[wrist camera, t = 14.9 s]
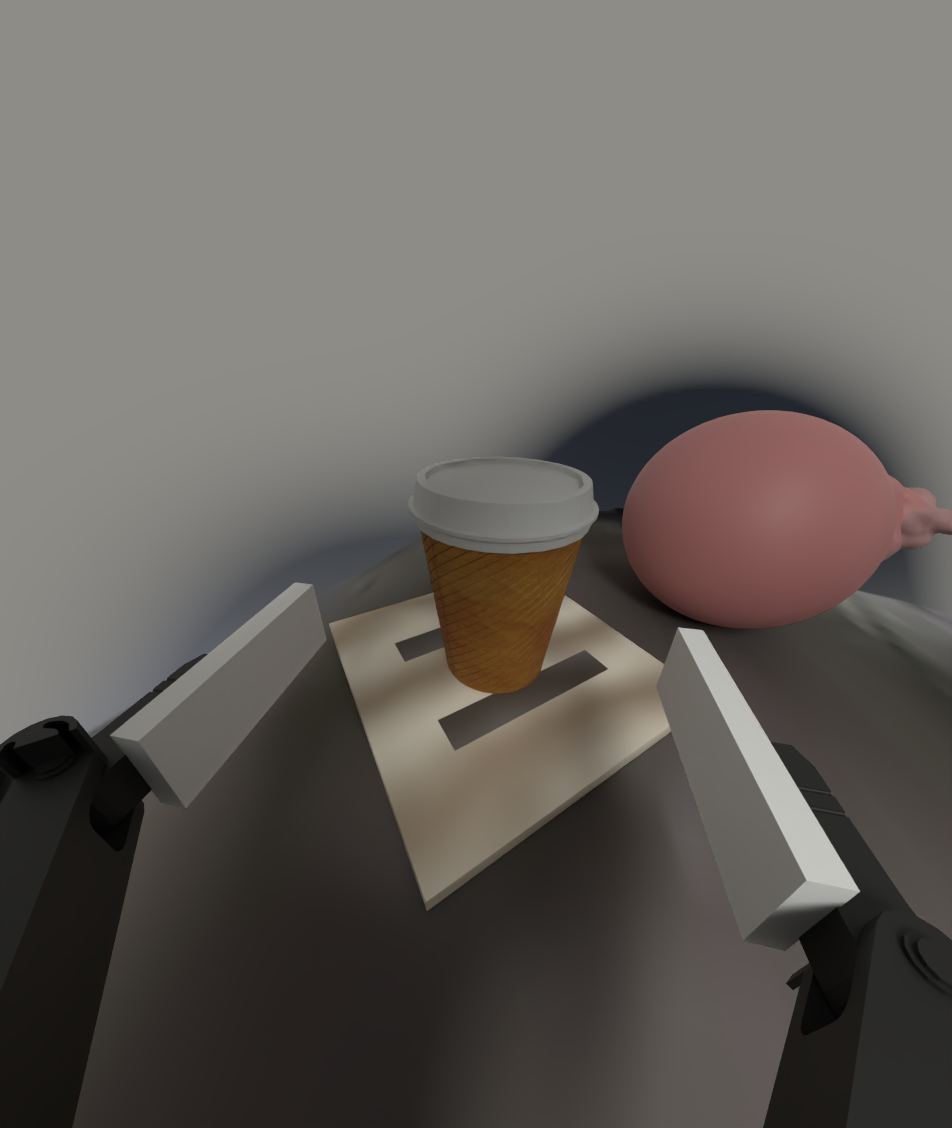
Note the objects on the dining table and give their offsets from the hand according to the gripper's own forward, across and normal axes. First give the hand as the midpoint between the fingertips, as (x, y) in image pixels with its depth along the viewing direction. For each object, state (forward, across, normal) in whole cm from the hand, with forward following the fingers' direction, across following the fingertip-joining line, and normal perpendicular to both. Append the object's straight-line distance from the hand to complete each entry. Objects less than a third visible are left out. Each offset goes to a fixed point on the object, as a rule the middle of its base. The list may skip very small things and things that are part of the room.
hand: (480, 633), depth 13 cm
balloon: (+17, +18, -9) cm, 26 cm away
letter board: (+8, 0, -9) cm, 12 cm away
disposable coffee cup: (+7, 0, -8) cm, 11 cm away
